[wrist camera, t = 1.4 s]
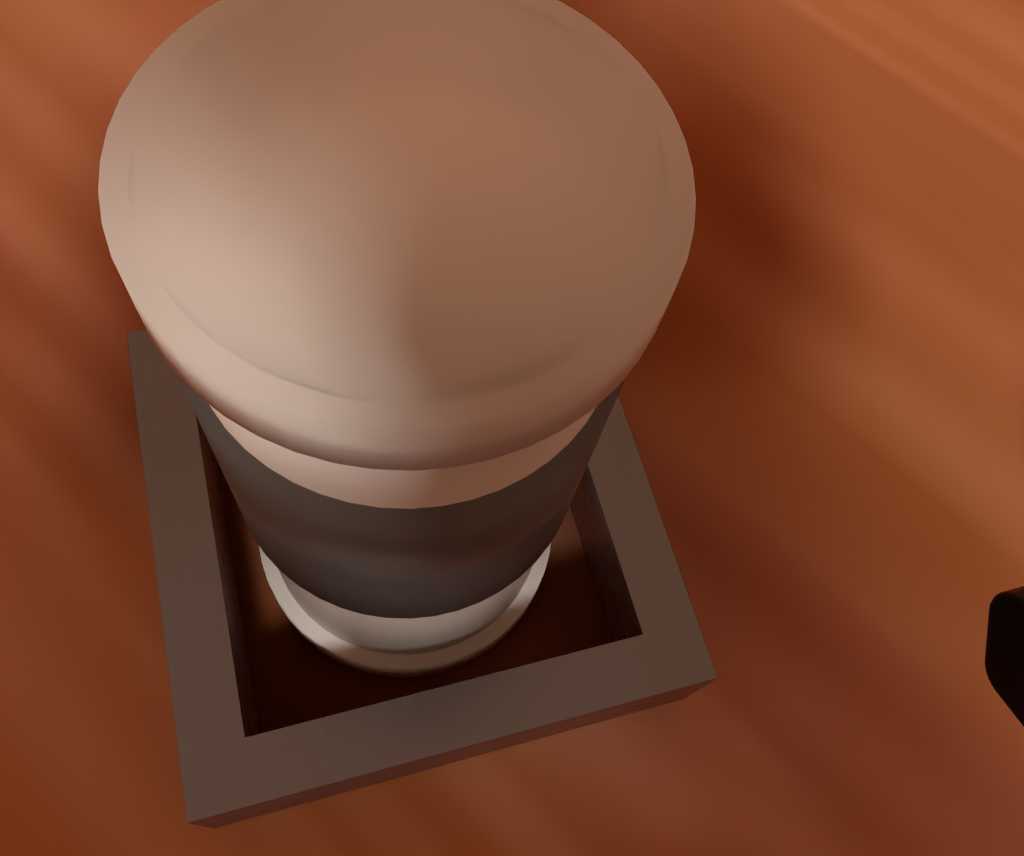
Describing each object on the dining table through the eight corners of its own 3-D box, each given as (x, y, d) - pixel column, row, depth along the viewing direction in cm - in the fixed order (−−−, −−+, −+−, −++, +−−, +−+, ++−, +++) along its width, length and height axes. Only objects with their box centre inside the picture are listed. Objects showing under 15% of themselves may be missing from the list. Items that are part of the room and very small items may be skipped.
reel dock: (684, 698, 21) (717, 677, 19) (213, 828, 19) (187, 822, 17) (555, 311, 25) (569, 257, 23) (153, 385, 23) (126, 333, 21)
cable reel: (493, 720, 21) (604, 524, 9) (214, 617, 21) (-28, 300, 9) (580, 461, 24) (750, 57, 12) (333, 374, 24) (261, -102, 12)
